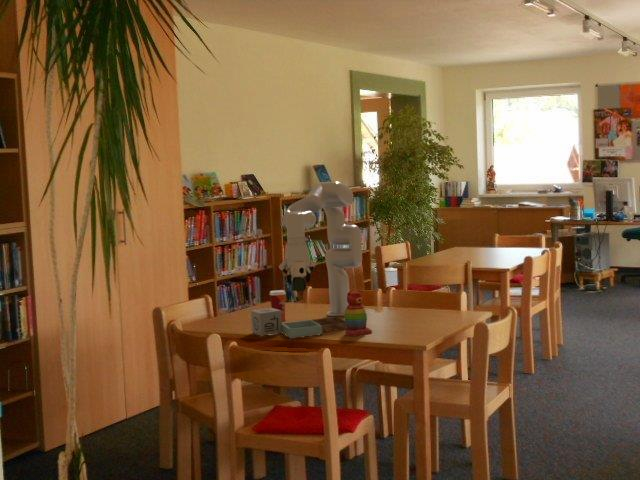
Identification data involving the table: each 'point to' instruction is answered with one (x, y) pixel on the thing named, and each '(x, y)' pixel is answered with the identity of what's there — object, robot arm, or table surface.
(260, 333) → the icon cube
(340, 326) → the walnut corral
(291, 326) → the bin
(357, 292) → the stacking bear
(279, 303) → the paper cup
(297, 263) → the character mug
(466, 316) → the table surface
